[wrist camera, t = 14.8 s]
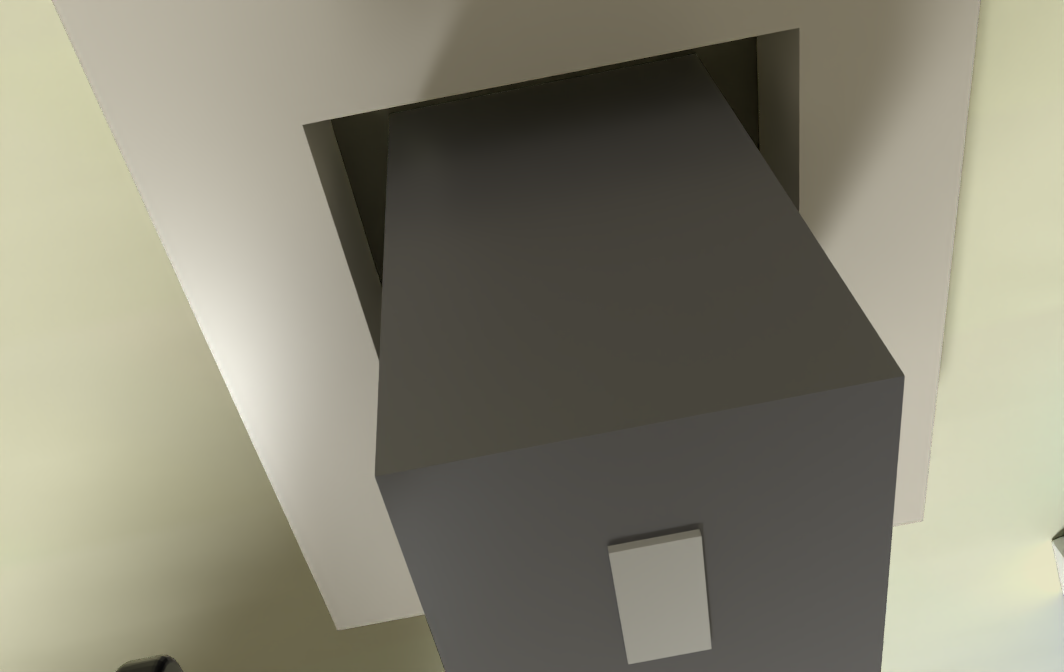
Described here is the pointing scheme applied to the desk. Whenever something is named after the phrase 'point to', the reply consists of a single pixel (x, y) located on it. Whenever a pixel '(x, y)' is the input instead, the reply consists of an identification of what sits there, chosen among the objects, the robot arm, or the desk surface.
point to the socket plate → (465, 66)
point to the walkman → (1059, 558)
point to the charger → (626, 390)
